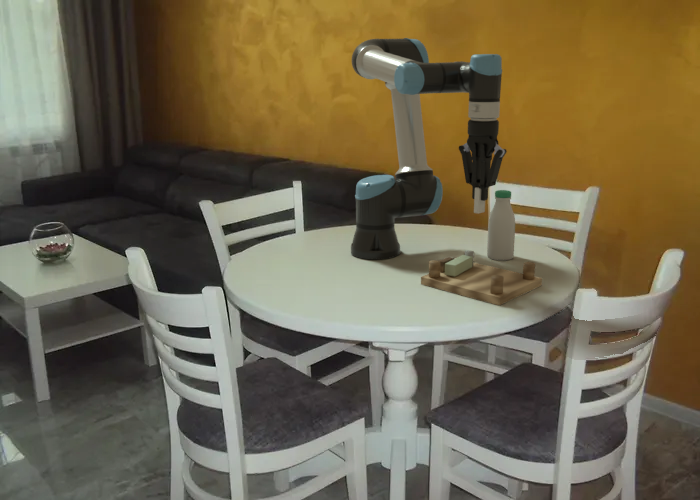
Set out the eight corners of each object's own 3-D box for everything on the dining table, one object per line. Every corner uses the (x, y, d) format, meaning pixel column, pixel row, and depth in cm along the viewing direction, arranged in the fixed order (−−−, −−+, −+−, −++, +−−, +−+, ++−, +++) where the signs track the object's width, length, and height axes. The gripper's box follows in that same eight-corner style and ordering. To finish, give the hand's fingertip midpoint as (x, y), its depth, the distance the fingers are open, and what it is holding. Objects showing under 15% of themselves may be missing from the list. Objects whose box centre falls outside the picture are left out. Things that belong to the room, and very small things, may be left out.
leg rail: (466, 263, 187) (466, 249, 186) (475, 265, 185) (476, 251, 184) (444, 274, 177) (444, 260, 176) (454, 276, 176) (455, 262, 175)
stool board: (420, 284, 177) (421, 262, 176) (465, 267, 191) (465, 246, 189) (499, 305, 161) (500, 281, 159) (541, 285, 175) (543, 263, 173)
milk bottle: (513, 261, 196) (517, 194, 190) (486, 260, 197) (489, 193, 192) (513, 254, 203) (516, 189, 197) (487, 253, 204) (489, 188, 199)
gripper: (452, 118, 168) (449, 210, 174) (497, 121, 159) (492, 219, 166) (470, 116, 173) (466, 206, 180) (514, 119, 164) (509, 213, 171)
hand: (479, 212), depth 173 cm, fingers closed
